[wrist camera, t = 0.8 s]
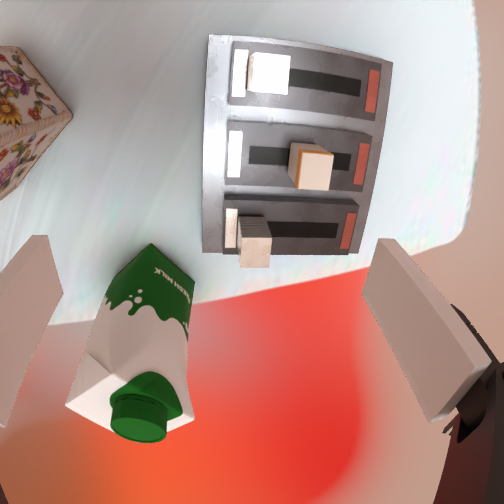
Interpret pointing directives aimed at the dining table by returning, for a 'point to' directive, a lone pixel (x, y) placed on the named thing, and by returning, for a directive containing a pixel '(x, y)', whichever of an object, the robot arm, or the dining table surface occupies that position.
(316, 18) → the dining table surface
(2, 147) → the decorative jar
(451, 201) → the dining table surface
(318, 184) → the toggle
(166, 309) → the milk carton
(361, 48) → the dining table surface
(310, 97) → the breaker panel
